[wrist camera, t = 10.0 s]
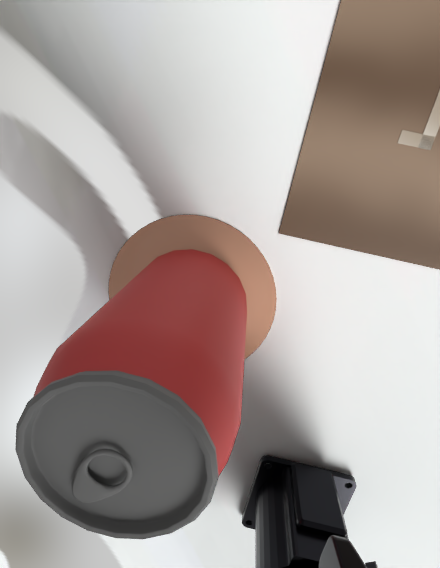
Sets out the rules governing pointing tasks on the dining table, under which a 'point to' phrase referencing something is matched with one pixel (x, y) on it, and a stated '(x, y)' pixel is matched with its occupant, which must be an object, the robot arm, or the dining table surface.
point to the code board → (374, 136)
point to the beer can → (142, 402)
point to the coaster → (208, 239)
